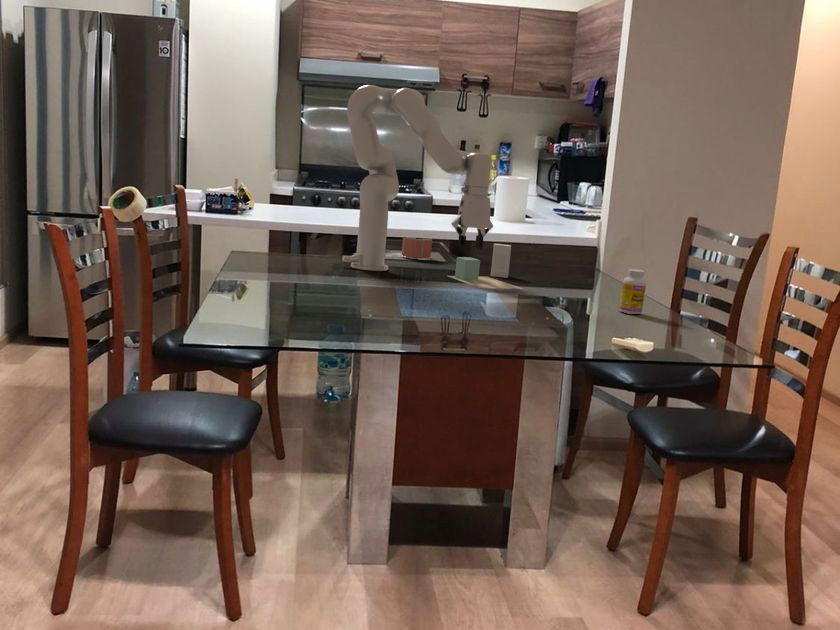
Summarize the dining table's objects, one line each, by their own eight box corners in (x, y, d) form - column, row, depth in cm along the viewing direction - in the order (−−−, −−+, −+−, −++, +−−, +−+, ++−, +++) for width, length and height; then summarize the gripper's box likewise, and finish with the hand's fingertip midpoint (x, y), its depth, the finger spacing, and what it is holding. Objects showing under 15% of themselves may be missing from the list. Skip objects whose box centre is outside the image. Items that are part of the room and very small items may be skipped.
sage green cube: (463, 280, 284) (465, 259, 283) (454, 277, 289) (456, 257, 288) (478, 280, 287) (480, 260, 285) (469, 277, 291) (471, 257, 290)
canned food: (412, 255, 344) (415, 224, 342) (436, 259, 338) (439, 228, 336) (395, 256, 335) (398, 225, 333) (419, 261, 329) (422, 229, 327)
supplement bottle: (628, 315, 255) (635, 271, 253) (613, 310, 261) (619, 268, 258) (646, 315, 258) (652, 272, 256) (631, 310, 264) (637, 268, 262)
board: (480, 292, 271) (480, 288, 271) (445, 279, 290) (445, 275, 290) (523, 292, 278) (523, 288, 278) (486, 280, 297) (487, 276, 297)
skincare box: (507, 279, 304) (511, 245, 302) (507, 281, 300) (511, 246, 297) (490, 277, 304) (493, 243, 302) (489, 279, 300) (493, 244, 298)
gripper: (458, 191, 275) (452, 248, 279) (505, 194, 283) (498, 250, 287) (447, 189, 282) (441, 245, 285) (492, 192, 290) (486, 247, 293)
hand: (470, 247), depth 286 cm, fingers open, 5 cm apart
